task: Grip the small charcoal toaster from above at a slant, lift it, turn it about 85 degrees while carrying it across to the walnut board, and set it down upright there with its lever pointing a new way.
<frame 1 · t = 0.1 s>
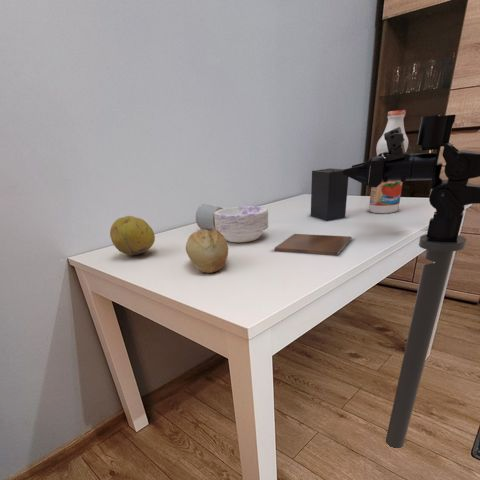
hand: (347, 169, 89), 16 cm above the table, tool horizontal, fingers open, 9 cm apart
ceramic mug: (215, 229, 112), on the table
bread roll: (208, 265, 81), on the table
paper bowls: (242, 239, 99), on the table
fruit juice: (383, 211, 116), on the table
toaster: (327, 216, 115), on the table
fruit: (137, 255, 94), on the table
board: (313, 245, 88), on the table
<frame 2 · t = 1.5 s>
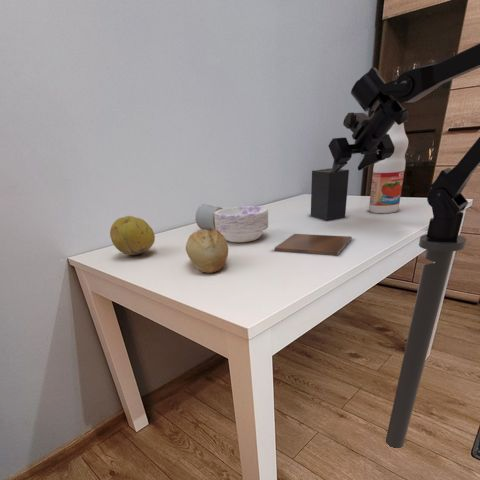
hand: (345, 170, 100), 14 cm above the table, tool tilted 45°, fingers open, 9 cm apart
nothing on the table moved.
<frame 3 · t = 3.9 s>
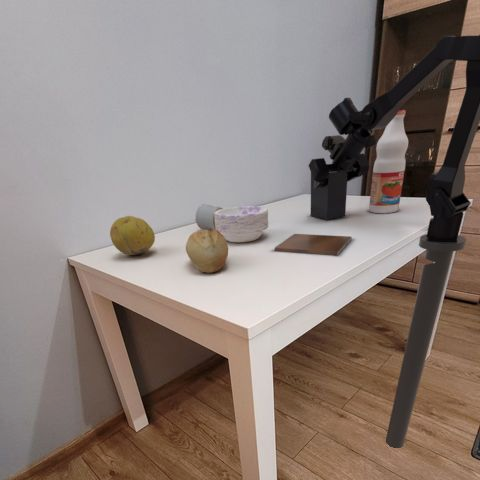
hand: (326, 186, 111), 9 cm above the table, tool tilted 45°
toaster: (327, 216, 115), on the table, touching gripper
everything else where it was.
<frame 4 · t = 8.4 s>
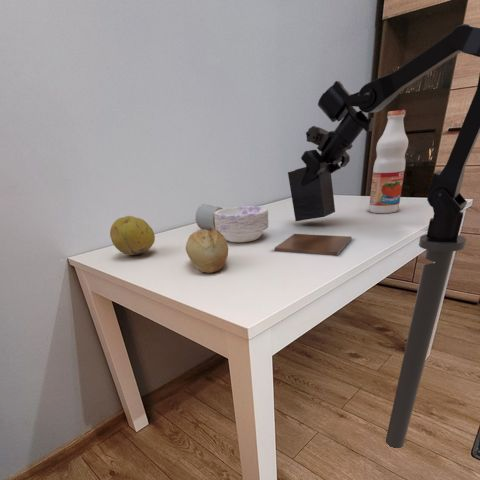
hand: (308, 183, 101), 12 cm above the table, tool tilted 40°, fingers closed on toaster, 7 cm apart
toaster: (315, 216, 105), point 2 cm above the table, tilted 11°, touching gripper
everything else where it was.
when the fingers open (11 cm above the table, at t = 13.1 s): toaster stays where it is, resting on board.
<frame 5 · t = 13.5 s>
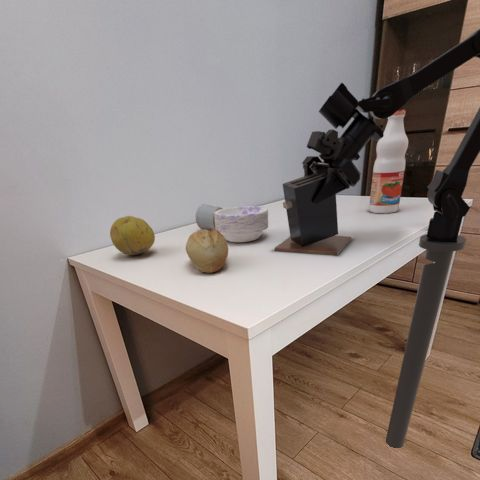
hand: (305, 200, 82), 11 cm above the table, tool tilted 45°, fingers open, 9 cm apart
toaster: (313, 237, 88), point 2 cm above the table, tilted 11°, touching board, gripper
everything else where it was.
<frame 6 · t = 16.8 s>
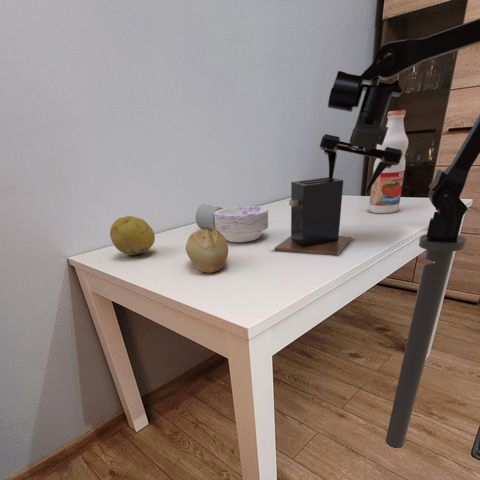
hand: (347, 189, 85), 12 cm above the table, tool tilted 15°, fingers open, 9 cm apart
toaster: (314, 240, 88), point 1 cm above the table, touching board, gripper
everything else where it was.
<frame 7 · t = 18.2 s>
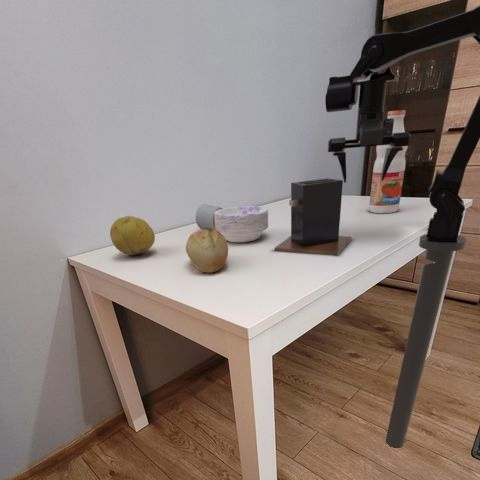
hand: (363, 181, 88), 13 cm above the table, tool pointing down, fingers open, 9 cm apart
toaster: (314, 241, 88), point 1 cm above the table, touching board
everything else where it was.
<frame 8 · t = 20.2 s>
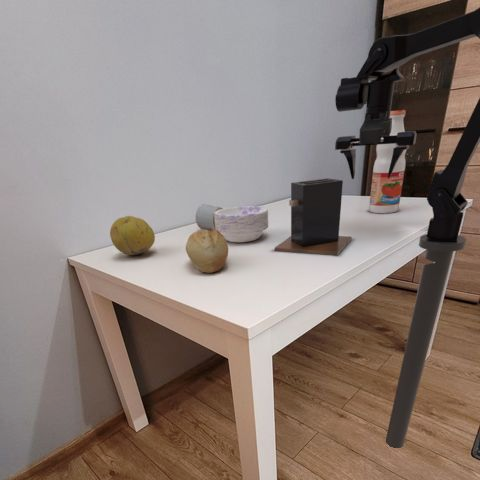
hand: (370, 178, 91), 13 cm above the table, tool pointing down, fingers open, 9 cm apart
nothing on the table moved.
at the end: toaster inside the target area on the board (1.3 cm from its centre), point 0.8 cm above the board's base; toaster tilted 0°; the gripper is holding nothing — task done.
